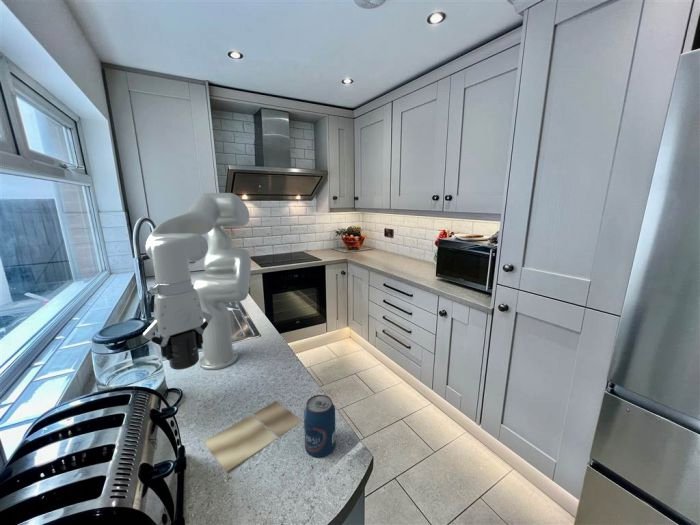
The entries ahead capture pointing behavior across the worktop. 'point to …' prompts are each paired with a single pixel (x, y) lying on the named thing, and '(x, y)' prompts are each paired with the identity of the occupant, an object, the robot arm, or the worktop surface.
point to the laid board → (277, 418)
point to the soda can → (319, 426)
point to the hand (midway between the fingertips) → (183, 351)
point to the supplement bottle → (183, 350)
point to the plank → (239, 442)
